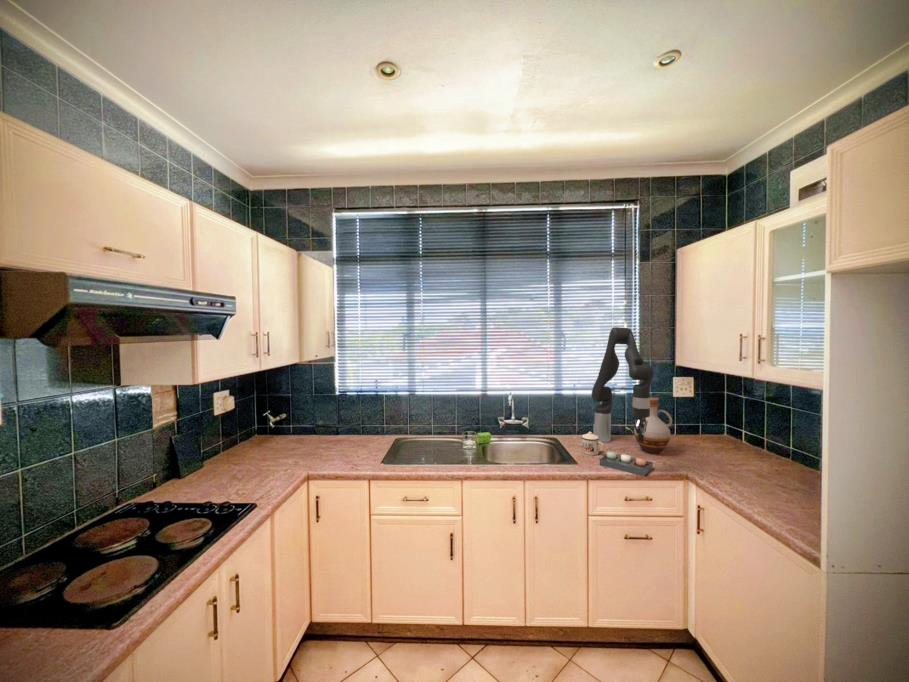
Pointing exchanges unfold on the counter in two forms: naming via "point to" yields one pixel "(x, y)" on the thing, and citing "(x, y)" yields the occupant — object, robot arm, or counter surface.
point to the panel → (626, 465)
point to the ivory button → (626, 458)
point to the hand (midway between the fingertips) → (641, 441)
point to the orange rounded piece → (641, 462)
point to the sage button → (611, 455)
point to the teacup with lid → (591, 444)
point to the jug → (655, 430)
